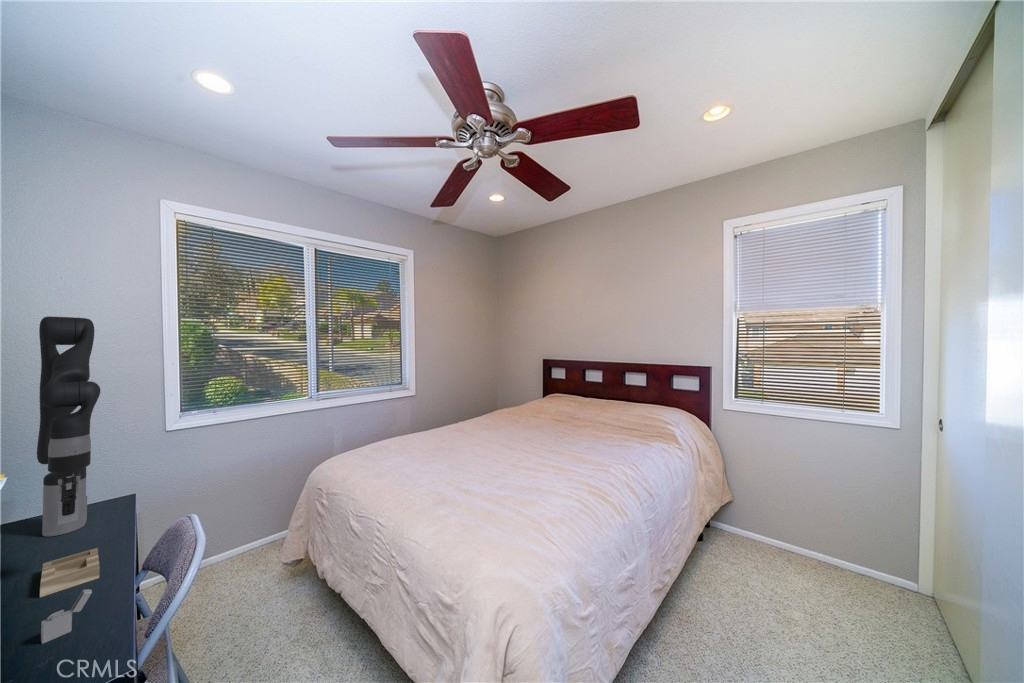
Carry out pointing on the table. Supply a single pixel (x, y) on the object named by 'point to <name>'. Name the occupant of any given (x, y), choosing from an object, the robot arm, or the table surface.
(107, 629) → the table surface
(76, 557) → the holder
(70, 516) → the grey rectangular block
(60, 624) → the lighter
